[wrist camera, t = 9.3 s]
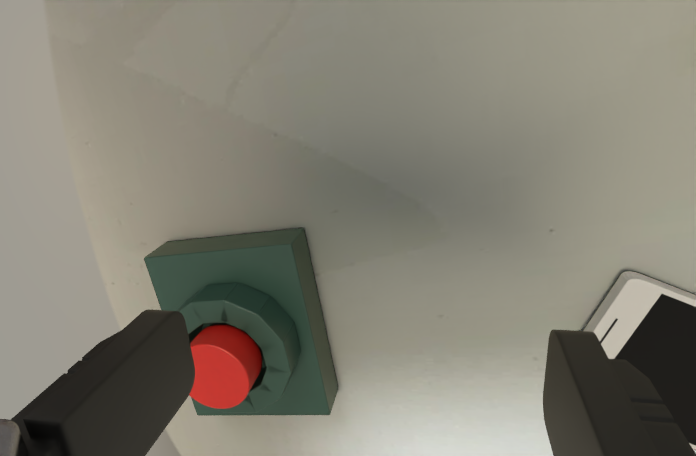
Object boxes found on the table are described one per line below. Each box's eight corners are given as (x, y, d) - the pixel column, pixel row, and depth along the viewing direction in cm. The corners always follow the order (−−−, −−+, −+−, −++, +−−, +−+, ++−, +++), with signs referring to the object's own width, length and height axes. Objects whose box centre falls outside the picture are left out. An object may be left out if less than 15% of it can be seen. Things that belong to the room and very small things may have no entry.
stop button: (185, 325, 23) (166, 346, 22) (253, 321, 22) (238, 343, 21) (204, 385, 24) (188, 409, 23) (269, 384, 24) (257, 409, 22)
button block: (166, 241, 26) (120, 273, 22) (304, 227, 24) (279, 260, 20) (213, 390, 29) (180, 440, 26) (338, 388, 27) (322, 441, 24)
